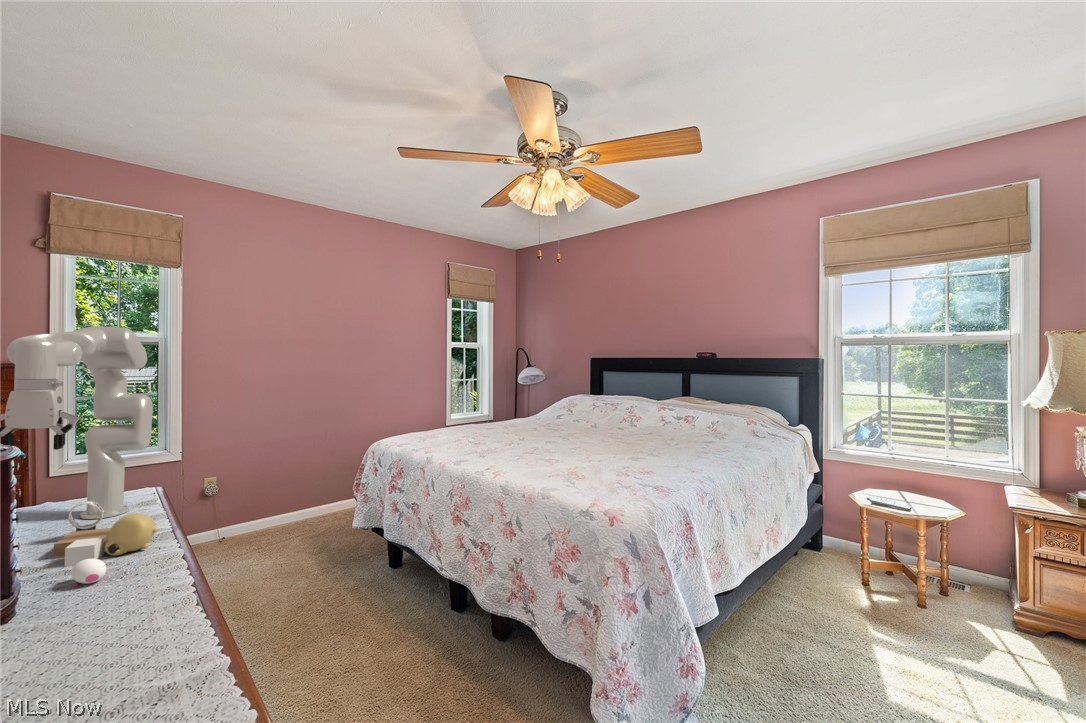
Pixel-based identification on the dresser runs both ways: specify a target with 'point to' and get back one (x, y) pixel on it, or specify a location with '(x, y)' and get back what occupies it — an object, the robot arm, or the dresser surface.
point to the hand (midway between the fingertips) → (33, 449)
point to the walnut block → (78, 535)
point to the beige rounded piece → (130, 534)
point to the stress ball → (88, 571)
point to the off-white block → (84, 550)
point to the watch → (97, 511)
